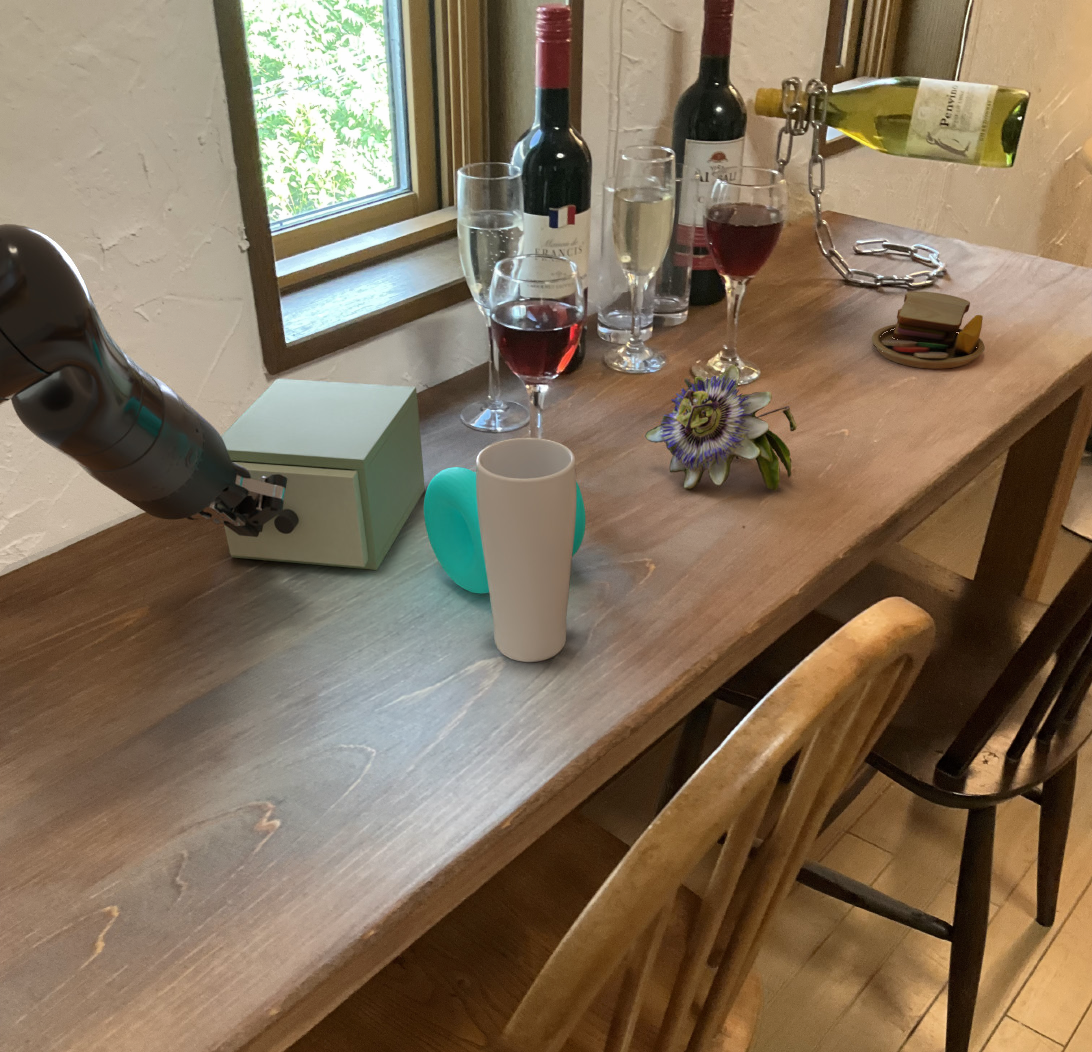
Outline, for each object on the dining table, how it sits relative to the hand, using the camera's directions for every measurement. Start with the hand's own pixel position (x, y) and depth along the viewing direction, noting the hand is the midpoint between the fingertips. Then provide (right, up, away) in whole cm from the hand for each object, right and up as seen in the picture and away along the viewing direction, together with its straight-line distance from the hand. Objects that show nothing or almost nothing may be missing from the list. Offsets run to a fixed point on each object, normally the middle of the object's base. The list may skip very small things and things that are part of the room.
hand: (251, 524), depth 90 cm
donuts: (+20, -4, +2) cm, 21 cm away
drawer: (+4, +1, +7) cm, 8 cm away
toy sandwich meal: (+67, +27, +40) cm, 83 cm away
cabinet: (+5, +2, +9) cm, 11 cm away
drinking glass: (+22, -10, -6) cm, 25 cm away
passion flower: (+40, +7, +16) cm, 44 cm away
